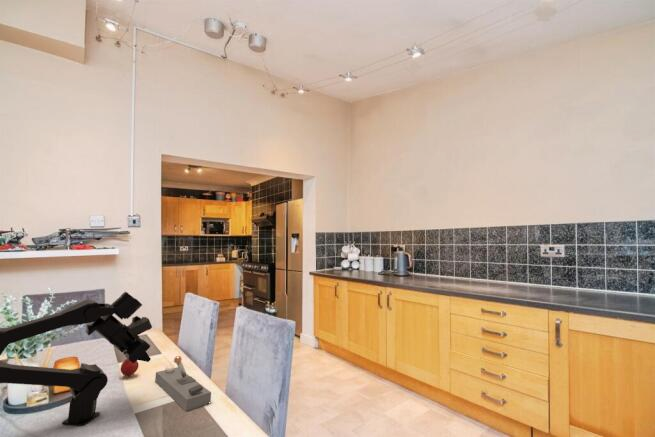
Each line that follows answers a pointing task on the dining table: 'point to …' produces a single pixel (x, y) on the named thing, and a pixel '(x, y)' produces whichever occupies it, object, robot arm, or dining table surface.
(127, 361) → the onion
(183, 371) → the toggle lever
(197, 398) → the switch panel
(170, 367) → the push button
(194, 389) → the rocker
